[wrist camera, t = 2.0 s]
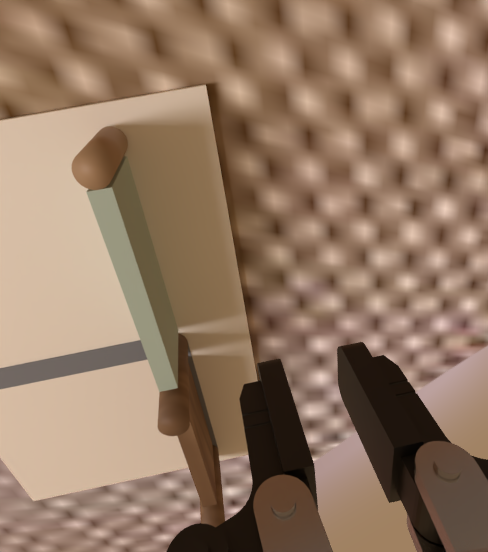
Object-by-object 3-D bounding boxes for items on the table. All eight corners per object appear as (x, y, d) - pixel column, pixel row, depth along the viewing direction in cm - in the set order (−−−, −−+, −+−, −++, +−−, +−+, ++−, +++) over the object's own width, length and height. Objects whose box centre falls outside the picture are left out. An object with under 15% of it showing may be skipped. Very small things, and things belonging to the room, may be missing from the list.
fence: (184, 331, 31) (186, 411, 24) (219, 454, 40) (228, 540, 33) (159, 336, 31) (153, 418, 24) (200, 458, 39) (204, 545, 33)
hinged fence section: (122, 123, 23) (105, 147, 18) (182, 329, 31) (182, 387, 26) (91, 129, 23) (65, 154, 18) (159, 334, 31) (154, 392, 25)
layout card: (205, 84, 23) (205, 85, 23) (268, 444, 41) (270, 450, 40) (-218, 157, 22) (-229, 160, 22) (35, 495, 40) (33, 502, 39)
